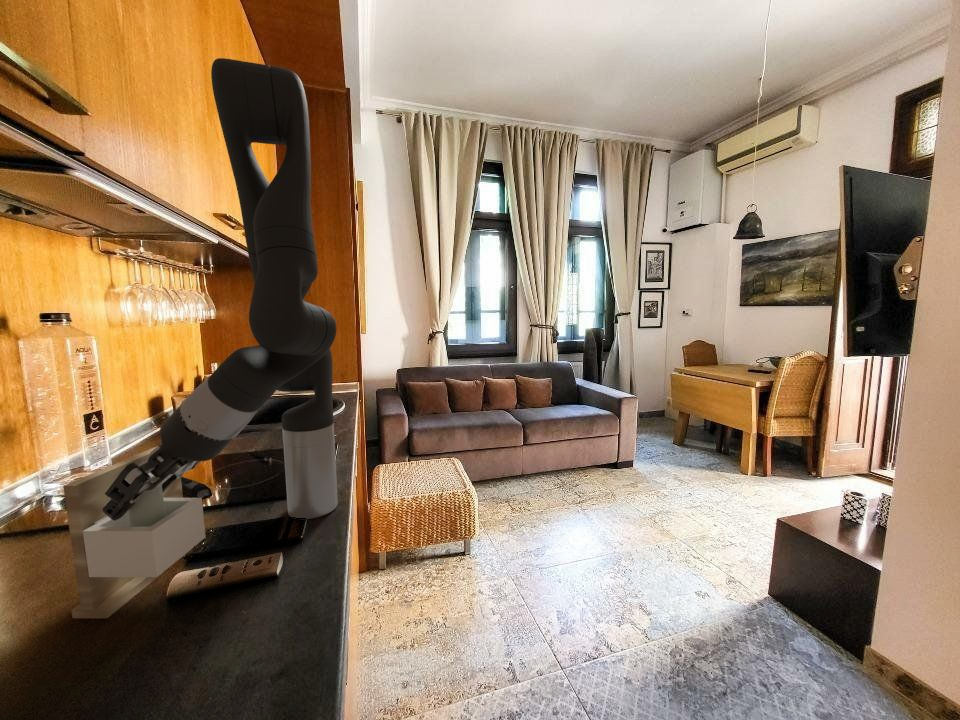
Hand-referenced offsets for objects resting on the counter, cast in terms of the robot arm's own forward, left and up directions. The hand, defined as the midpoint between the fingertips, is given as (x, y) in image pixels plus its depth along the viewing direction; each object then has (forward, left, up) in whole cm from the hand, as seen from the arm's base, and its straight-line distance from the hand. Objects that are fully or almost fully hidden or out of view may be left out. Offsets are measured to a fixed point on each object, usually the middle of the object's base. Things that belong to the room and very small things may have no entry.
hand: (132, 502), depth 52 cm
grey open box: (0, +1, -8) cm, 8 cm away
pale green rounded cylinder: (0, +2, -7) cm, 7 cm away
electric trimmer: (-31, -18, -14) cm, 39 cm away
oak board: (-4, -4, -14) cm, 15 cm away
